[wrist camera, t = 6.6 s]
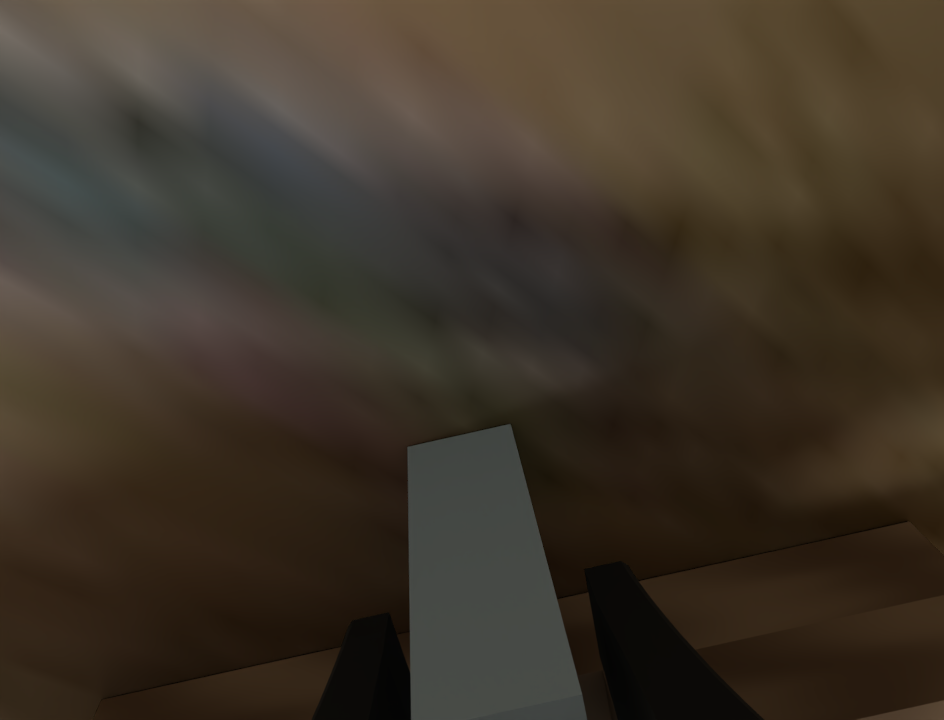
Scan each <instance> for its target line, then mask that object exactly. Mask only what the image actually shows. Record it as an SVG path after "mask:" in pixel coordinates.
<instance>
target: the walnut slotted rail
mask: <svg viewBox="0 0 944 720" xmlns="http://www.w3.org/2000/svg"><path fill="white" fill-rule="evenodd" d="M639 582H640V584H641V585H642V587H643V588H644V589H645V591H646V592H647V593H648V595H649V596H650V597H651V599H652V600H653V601H654V602H655V604H656V605H657V606H658V607H659V609H660V610H661V611H662V612H663V614H664V615H665V616H666V617H667V618H668V620H669V621H670V622H671V623H672V624H673V626H674V627H675V628H676V629H677V630H678V631H679V633H680V634H681V635H682V636H683V637H684V638H685V639H686V640H687V642H688V643H689V644H690V645H691V646H692V647H693V648H694V649H695V650H696V651H697V652H698V654H699V655H700V656H701V657H702V658H703V659H704V660H705V661H706V662H707V663H708V665H709V666H710V667H711V668H712V669H713V670H714V671H715V672H716V673H717V674H718V675H719V676H720V677H721V678H722V679H723V680H724V681H725V682H726V683H727V684H728V685H729V686H730V687H731V688H732V689H733V690H734V691H735V692H736V693H737V694H738V695H739V696H740V697H741V698H742V699H743V700H744V701H745V702H746V703H747V704H748V705H749V706H750V707H751V708H753V709H754V710H755V711H756V712H757V713H758V714H759V715H760V716H761V717H762V718H763V719H764V720H944V555H943V554H942V553H941V552H940V551H939V550H938V549H937V548H936V547H935V546H934V545H933V544H932V543H931V542H930V541H929V540H928V539H927V538H926V537H925V536H924V535H923V534H922V533H921V532H920V531H919V530H918V529H917V528H916V527H915V526H914V525H913V524H912V523H911V522H910V521H909V522H905V523H900V524H896V525H891V526H886V527H882V528H877V529H873V530H868V531H864V532H859V533H855V534H850V535H846V536H841V537H837V538H832V539H828V540H823V541H819V542H814V543H809V544H805V545H800V546H796V547H791V548H787V549H782V550H778V551H773V552H769V553H764V554H760V555H755V556H751V557H746V558H742V559H737V560H733V561H728V562H723V563H719V564H714V565H710V566H705V567H701V568H696V569H692V570H687V571H683V572H678V573H674V574H669V575H665V576H660V577H656V578H651V579H646V580H642V581H639ZM557 601H558V605H559V609H560V613H561V616H562V620H563V624H564V628H565V631H566V635H567V639H568V643H569V647H570V650H571V654H572V658H573V662H574V665H575V669H576V673H577V677H578V681H579V684H580V688H581V692H582V696H583V701H584V706H585V711H586V716H587V720H618V719H617V715H616V712H615V708H614V705H613V701H612V698H611V694H610V691H609V687H608V684H607V680H606V677H605V673H604V670H603V666H602V662H601V659H600V655H599V649H598V644H597V638H596V632H595V627H594V621H593V615H592V610H591V604H590V598H589V593H583V594H579V595H574V596H569V597H565V598H560V599H557ZM397 637H398V640H399V642H400V645H401V648H402V651H403V654H404V657H405V659H406V662H407V665H408V668H409V671H410V632H406V633H402V634H397ZM340 648H341V647H339V648H334V649H329V650H325V651H320V652H316V653H311V654H307V655H302V656H298V657H293V658H289V659H284V660H280V661H275V662H271V663H266V664H262V665H257V666H253V667H248V668H243V669H239V670H234V671H230V672H225V673H221V674H216V675H212V676H207V677H203V678H198V679H194V680H189V681H185V682H180V683H176V684H171V685H166V686H162V687H157V688H153V689H148V690H144V691H139V692H135V693H130V694H126V695H121V696H117V697H112V698H108V699H103V700H101V702H100V704H99V707H98V709H97V711H96V714H95V716H94V718H93V720H311V719H312V717H313V715H314V713H315V710H316V708H317V706H318V704H319V701H320V699H321V696H322V694H323V692H324V689H325V687H326V684H327V682H328V679H329V677H330V674H331V672H332V669H333V667H334V664H335V662H336V659H337V656H338V654H339V651H340Z"/></svg>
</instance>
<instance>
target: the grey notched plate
mask: <svg viewBox="0 0 944 720" xmlns="http://www.w3.org/2000/svg"><path fill="white" fill-rule="evenodd" d="M407 450H408V526H409V602H410V678H411V720H587V716H586V711H585V706H584V701H583V696H582V692H581V688H580V684H579V681H578V677H577V673H576V669H575V665H574V662H573V658H572V654H571V650H570V647H569V643H568V639H567V635H566V631H565V628H564V624H563V620H562V616H561V613H560V609H559V605H558V601H557V597H556V594H555V590H554V586H553V582H552V578H551V575H550V571H549V567H548V563H547V560H546V556H545V552H544V548H543V544H542V541H541V537H540V533H539V529H538V526H537V522H536V518H535V514H534V510H533V507H532V503H531V499H530V495H529V491H528V488H527V484H526V480H525V476H524V473H523V469H522V465H521V461H520V457H519V454H518V450H517V446H516V442H515V439H514V435H513V431H512V427H511V424H507V425H503V426H499V427H494V428H490V429H485V430H481V431H476V432H472V433H467V434H463V435H458V436H454V437H449V438H445V439H440V440H436V441H432V442H427V443H423V444H418V445H414V446H409V447H407Z"/></svg>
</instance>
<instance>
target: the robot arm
mask: <svg viewBox="0 0 944 720" xmlns="http://www.w3.org/2000/svg"><path fill="white" fill-rule="evenodd" d="M584 570H585V576H586V581H587V587H588V593H589V598H590V604H591V610H592V615H593V621H594V627H595V632H596V638H597V644H598V649H599V655H600V659H601V662H602V666H603V670H604V673H605V677H606V680H607V684H608V687H609V691H610V694H611V698H612V701H613V705H614V708H615V712H616V715H617V719H618V720H764V719H763V718H762V717H761V716H760V715H759V714H758V713H757V712H756V711H755V710H754V709H753V708H751V707H750V706H749V705H748V704H747V703H746V702H745V701H744V700H743V699H742V698H741V697H740V696H739V695H738V694H737V693H736V692H735V691H734V690H733V689H732V688H731V687H730V686H729V685H728V684H727V683H726V682H725V681H724V680H723V679H722V678H721V677H720V676H719V675H718V674H717V673H716V672H715V671H714V670H713V669H712V668H711V667H710V666H709V665H708V663H707V662H706V661H705V660H704V659H703V658H702V657H701V656H700V655H699V654H698V652H697V651H696V650H695V649H694V648H693V647H692V646H691V645H690V644H689V643H688V642H687V640H686V639H685V638H684V637H683V636H682V635H681V634H680V633H679V631H678V630H677V629H676V628H675V627H674V626H673V624H672V623H671V622H670V621H669V620H668V618H667V617H666V616H665V615H664V614H663V612H662V611H661V610H660V609H659V607H658V606H657V605H656V604H655V602H654V601H653V600H652V599H651V597H650V596H649V595H648V593H647V592H646V591H645V589H644V588H643V587H642V585H641V584H640V582H639V581H638V580H637V578H636V577H635V575H634V574H633V572H632V571H631V569H630V567H629V566H628V565H627V564H625V563H623V562H622V561H619V562H615V563H610V564H606V565H601V566H597V567H592V568H587V569H584ZM311 720H411V678H410V671H409V668H408V665H407V662H406V659H405V657H404V654H403V651H402V648H401V645H400V642H399V640H398V637H397V634H396V631H395V628H394V625H393V623H392V620H391V617H390V614H389V613H384V614H380V615H375V616H370V617H366V618H361V619H357V620H353V621H352V622H351V624H350V625H349V626H348V629H347V632H346V635H345V637H344V640H343V643H342V646H341V648H340V651H339V654H338V656H337V659H336V662H335V664H334V667H333V669H332V672H331V674H330V677H329V679H328V682H327V684H326V687H325V689H324V692H323V694H322V696H321V699H320V701H319V704H318V706H317V708H316V710H315V713H314V715H313V717H312V719H311Z"/></svg>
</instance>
